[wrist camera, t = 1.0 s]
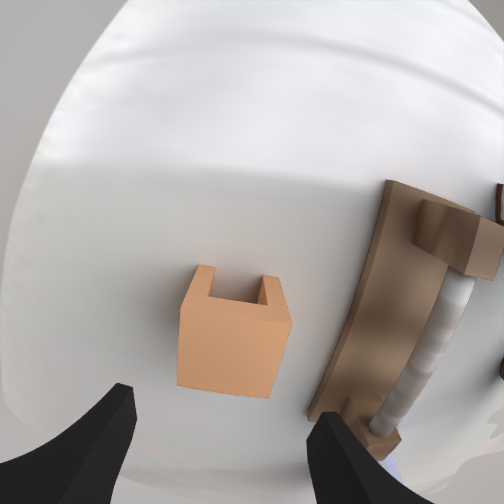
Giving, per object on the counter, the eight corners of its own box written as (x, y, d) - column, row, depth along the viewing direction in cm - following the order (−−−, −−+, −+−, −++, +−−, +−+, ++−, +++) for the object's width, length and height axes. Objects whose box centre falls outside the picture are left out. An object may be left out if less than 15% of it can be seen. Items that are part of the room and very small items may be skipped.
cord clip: (263, 342, 19) (268, 398, 14) (191, 331, 19) (176, 385, 13) (278, 277, 18) (292, 323, 12) (199, 264, 17) (180, 307, 12)
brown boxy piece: (381, 410, 22) (403, 458, 16) (306, 413, 22) (319, 471, 15) (466, 209, 16) (527, 230, 10) (386, 179, 16) (451, 191, 10)
